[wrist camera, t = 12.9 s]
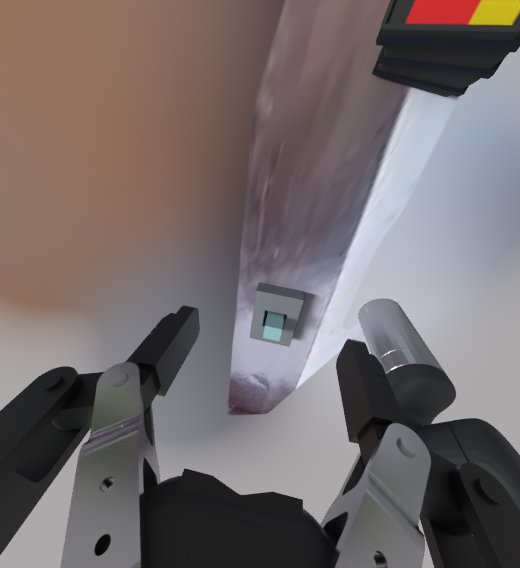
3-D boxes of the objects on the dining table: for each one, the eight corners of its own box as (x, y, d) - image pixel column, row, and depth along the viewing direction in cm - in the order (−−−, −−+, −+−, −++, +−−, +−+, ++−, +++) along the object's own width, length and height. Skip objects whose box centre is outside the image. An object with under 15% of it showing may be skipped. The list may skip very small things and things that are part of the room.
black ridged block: (475, 105, 26) (525, 39, 15) (375, 91, 31) (356, 33, 20) (501, 65, 24) (582, -47, 13) (390, 56, 29) (377, -30, 18)
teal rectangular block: (284, 307, 51) (282, 329, 45) (281, 318, 53) (279, 341, 47) (269, 304, 52) (264, 325, 45) (267, 315, 54) (262, 337, 47)
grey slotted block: (259, 282, 49) (256, 290, 46) (303, 291, 48) (303, 300, 45) (252, 328, 57) (249, 337, 54) (289, 337, 56) (289, 346, 54)
